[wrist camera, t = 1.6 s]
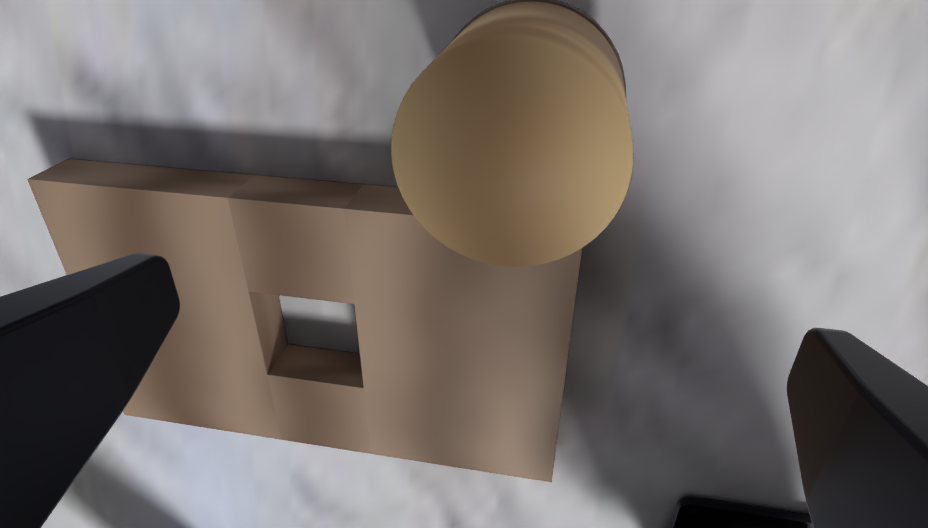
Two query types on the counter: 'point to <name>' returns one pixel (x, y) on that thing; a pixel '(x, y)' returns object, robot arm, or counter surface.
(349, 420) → the walnut board
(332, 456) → the counter surface
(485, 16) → the oak peg
